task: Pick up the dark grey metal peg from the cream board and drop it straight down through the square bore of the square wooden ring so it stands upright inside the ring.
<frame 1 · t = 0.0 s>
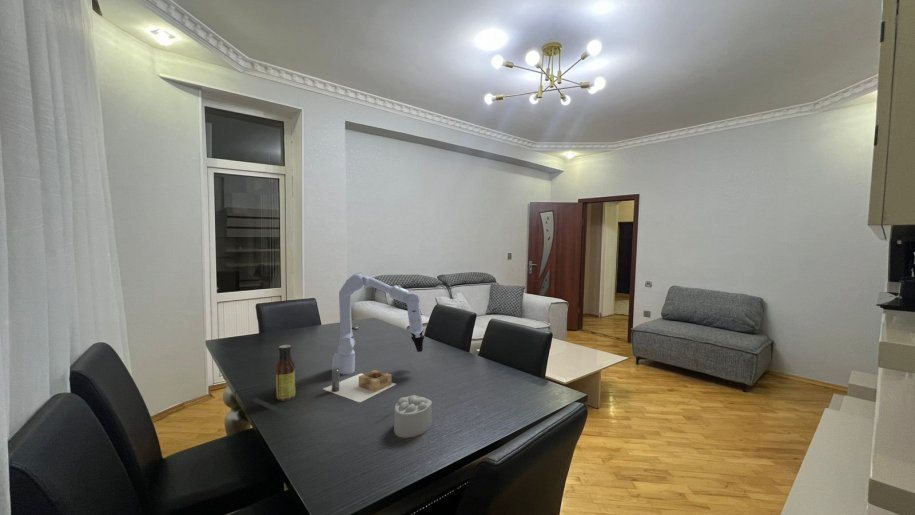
hand: (419, 348, 163), 11 cm above the table, tool pointing down, fingers open, 7 cm apart
sauce bottle: (285, 400, 131), on the table
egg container: (411, 427, 116), on the table
metal peg: (335, 390, 138), point 1 cm above the table, touching board
board: (360, 389, 142), on the table
square wooden ring: (375, 385, 144), point 1 cm above the table, touching board
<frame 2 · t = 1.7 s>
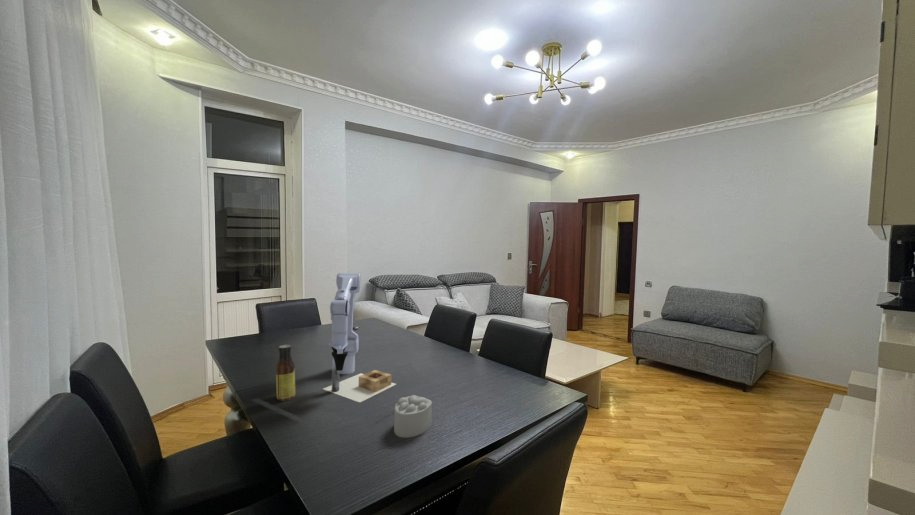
hand: (339, 366, 137), 10 cm above the table, tool pointing down, fingers open, 7 cm apart
nothing on the table moved.
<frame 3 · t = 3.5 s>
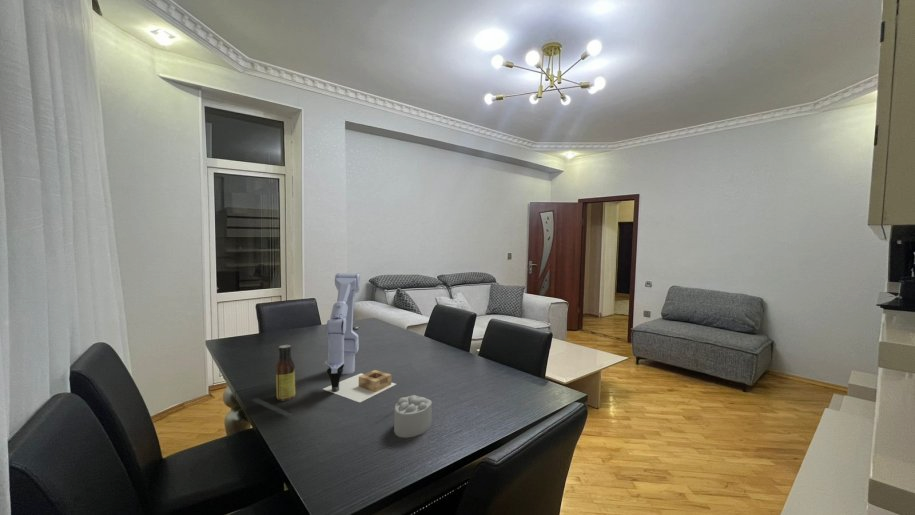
hand: (335, 385, 138), 3 cm above the table, tool pointing down, fingers closed on metal peg, 3 cm apart
metal peg: (335, 390, 138), point 1 cm above the table, touching board, gripper
everything else where it was.
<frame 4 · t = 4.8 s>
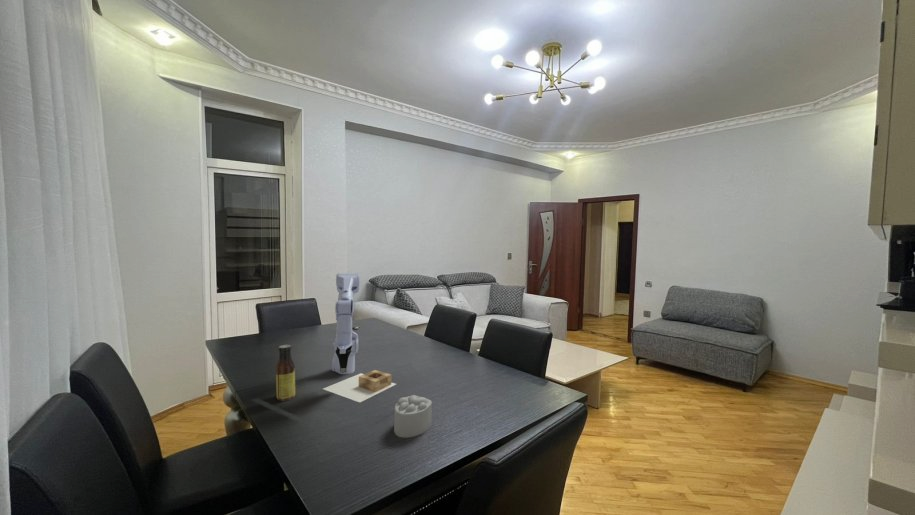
hand: (343, 366, 139), 10 cm above the table, tool pointing down, fingers closed on metal peg, 3 cm apart
metal peg: (343, 371, 139), point 8 cm above the table, touching gripper
everything else where it was.
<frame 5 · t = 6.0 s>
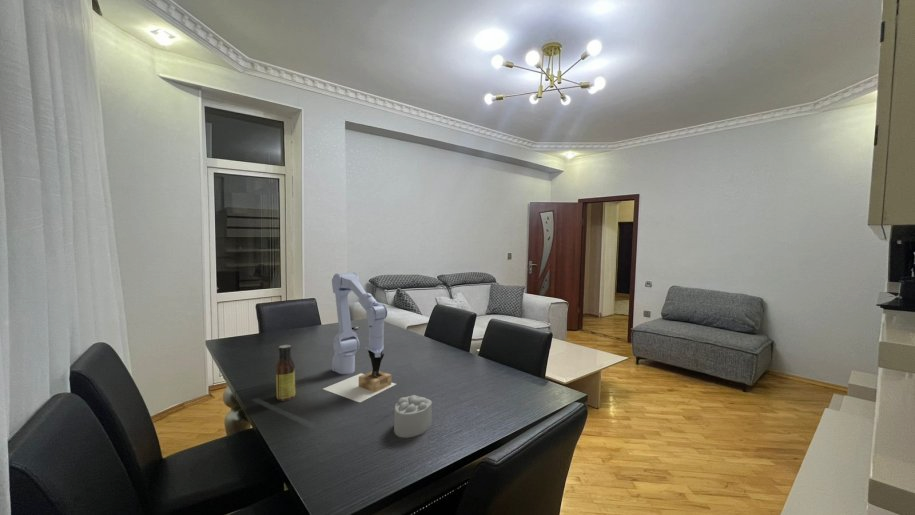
hand: (375, 369, 143), 8 cm above the table, tool pointing down, fingers closed on metal peg, 3 cm apart
metal peg: (375, 374, 144), point 6 cm above the table, touching gripper
everything else where it was.
when the fingers open (6 cm above the table, at t = 6.6 s): metal peg drops 3 cm, resting on board.
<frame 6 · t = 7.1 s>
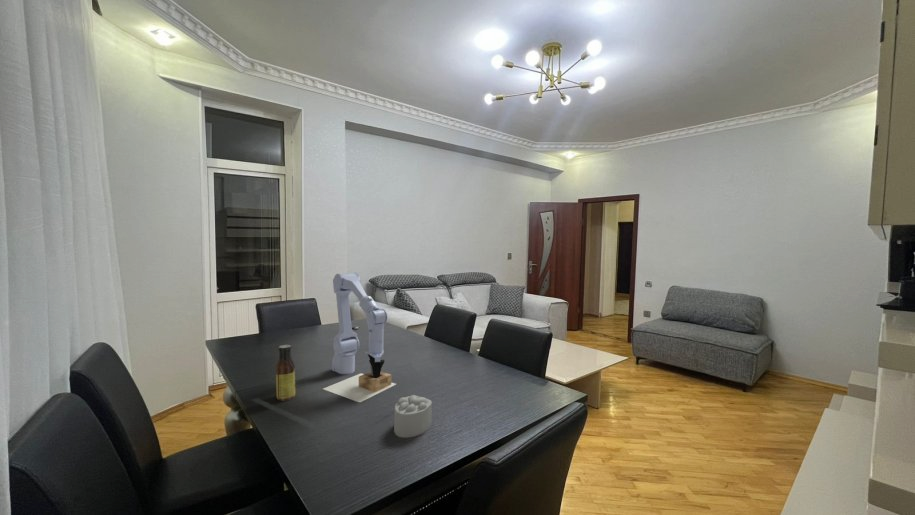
hand: (375, 373, 144), 6 cm above the table, tool pointing down, fingers open, 7 cm apart
metal peg: (375, 385, 144), point 1 cm above the table, touching board
everything else where it was.
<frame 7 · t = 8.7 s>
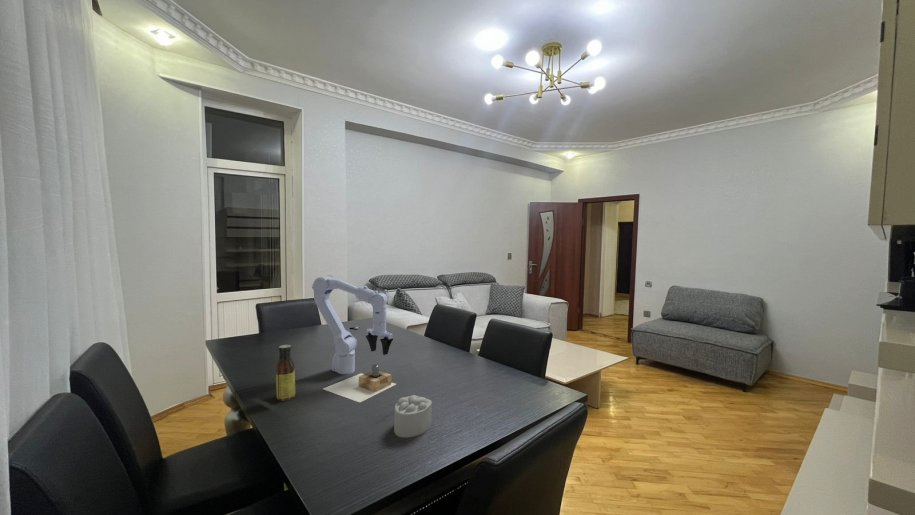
hand: (379, 352, 156), 10 cm above the table, tool pointing down, fingers open, 7 cm apart
nothing on the table moved.
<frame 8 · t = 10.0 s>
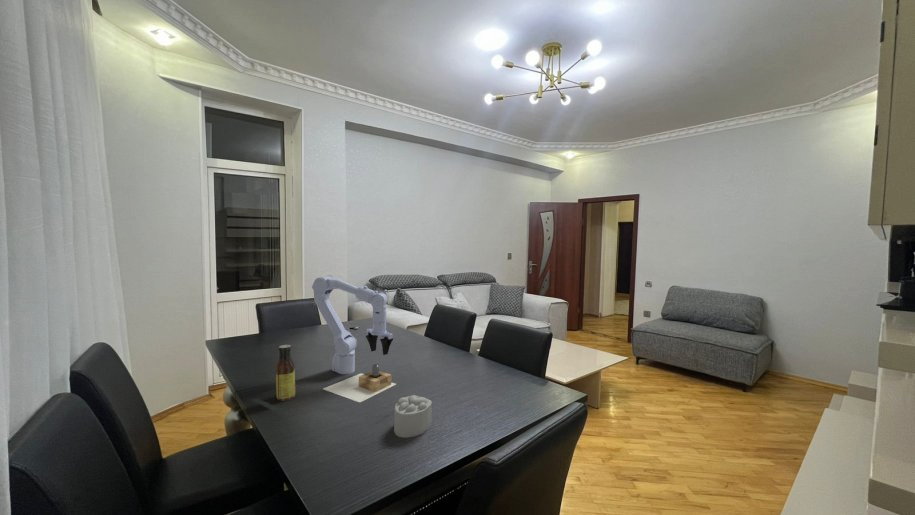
hand: (379, 352, 156), 10 cm above the table, tool pointing down, fingers open, 7 cm apart
nothing on the table moved.
at the end: metal peg 0.0 cm from the square wooden ring (horizontally); metal peg point 1.3 cm above the table; metal peg tilted 2° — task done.
